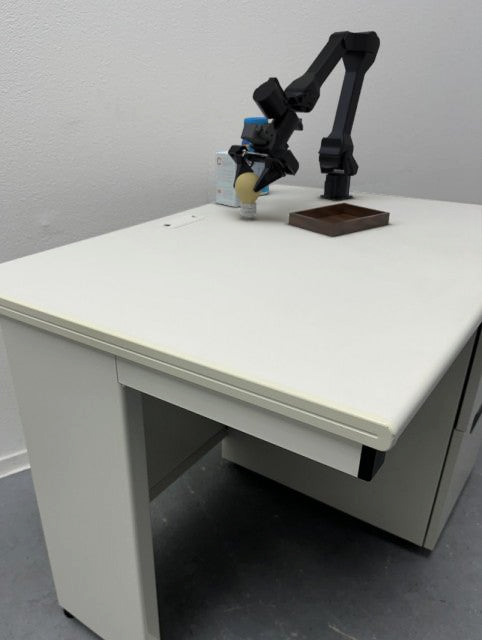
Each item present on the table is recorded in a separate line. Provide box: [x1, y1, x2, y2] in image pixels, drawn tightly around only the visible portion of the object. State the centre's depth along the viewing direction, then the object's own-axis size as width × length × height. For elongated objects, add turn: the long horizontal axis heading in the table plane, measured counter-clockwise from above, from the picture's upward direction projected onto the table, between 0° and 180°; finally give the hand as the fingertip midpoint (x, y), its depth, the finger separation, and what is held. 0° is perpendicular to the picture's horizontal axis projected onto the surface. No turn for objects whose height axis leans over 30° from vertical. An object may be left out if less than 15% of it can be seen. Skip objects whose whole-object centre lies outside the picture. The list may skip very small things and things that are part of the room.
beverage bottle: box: [240, 116, 270, 196], centre depth 154 cm, size 8×8×20 cm
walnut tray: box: [287, 202, 391, 238], centre depth 123 cm, size 17×14×3 cm
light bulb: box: [235, 172, 262, 218], centre depth 128 cm, size 6×6×10 cm
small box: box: [215, 150, 253, 208], centre depth 144 cm, size 8×6×13 cm
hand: (244, 189), depth 127 cm, fingers closed on light bulb, 6 cm apart
